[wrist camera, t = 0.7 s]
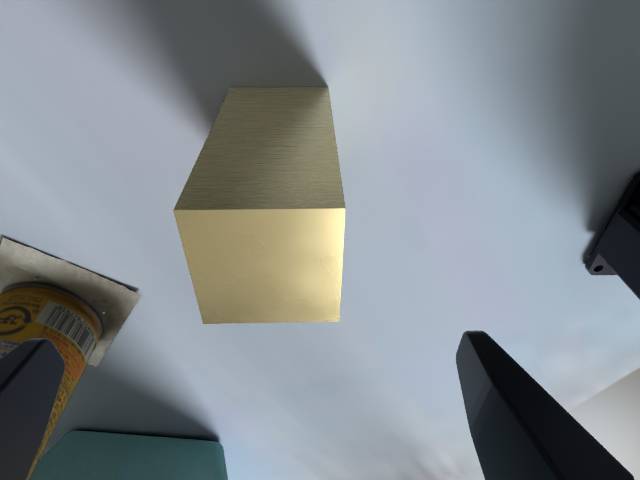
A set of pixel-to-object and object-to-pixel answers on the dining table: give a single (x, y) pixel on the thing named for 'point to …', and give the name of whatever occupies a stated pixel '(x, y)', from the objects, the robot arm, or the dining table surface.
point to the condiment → (59, 313)
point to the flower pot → (130, 458)
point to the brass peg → (266, 210)
